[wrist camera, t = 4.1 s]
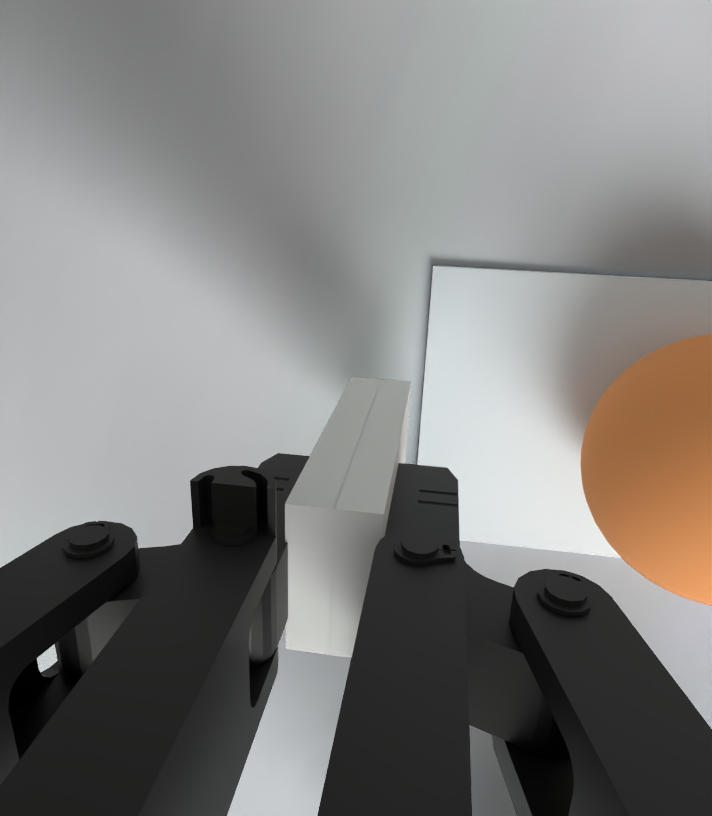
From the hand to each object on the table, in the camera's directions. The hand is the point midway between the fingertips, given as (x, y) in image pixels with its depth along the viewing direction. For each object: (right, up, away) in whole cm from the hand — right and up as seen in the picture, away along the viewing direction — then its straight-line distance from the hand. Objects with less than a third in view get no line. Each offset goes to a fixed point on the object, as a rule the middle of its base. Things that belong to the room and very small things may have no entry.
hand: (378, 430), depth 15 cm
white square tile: (+6, 0, +1) cm, 6 cm away
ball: (+8, -1, -2) cm, 8 cm away
